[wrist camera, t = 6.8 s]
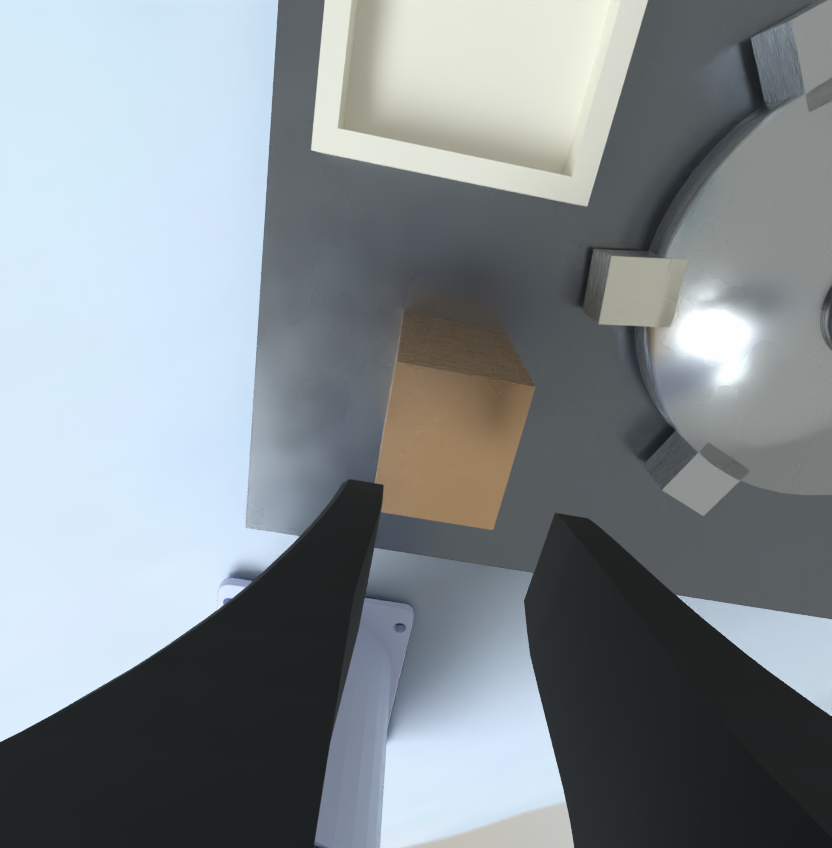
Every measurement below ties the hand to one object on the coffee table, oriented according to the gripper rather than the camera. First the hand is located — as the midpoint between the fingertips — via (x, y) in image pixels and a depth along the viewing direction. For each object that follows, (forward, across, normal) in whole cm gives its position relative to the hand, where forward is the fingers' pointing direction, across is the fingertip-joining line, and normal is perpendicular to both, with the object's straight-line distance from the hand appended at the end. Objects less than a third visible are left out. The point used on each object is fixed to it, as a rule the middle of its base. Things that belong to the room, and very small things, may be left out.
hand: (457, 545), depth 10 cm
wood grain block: (+9, 0, 0) cm, 9 cm away
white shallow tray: (+9, +1, -10) cm, 13 cm away
